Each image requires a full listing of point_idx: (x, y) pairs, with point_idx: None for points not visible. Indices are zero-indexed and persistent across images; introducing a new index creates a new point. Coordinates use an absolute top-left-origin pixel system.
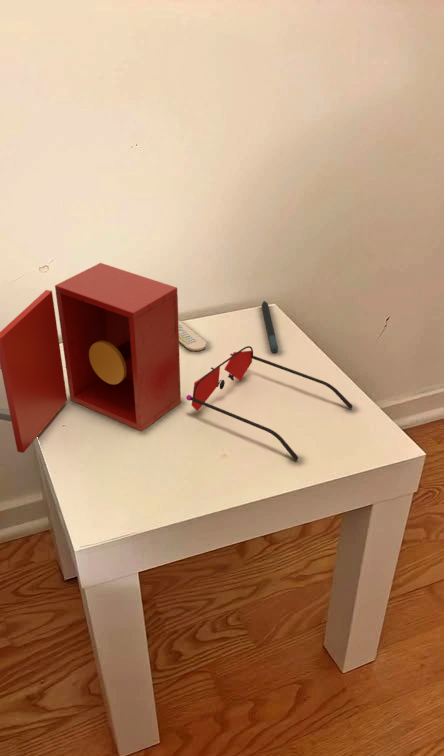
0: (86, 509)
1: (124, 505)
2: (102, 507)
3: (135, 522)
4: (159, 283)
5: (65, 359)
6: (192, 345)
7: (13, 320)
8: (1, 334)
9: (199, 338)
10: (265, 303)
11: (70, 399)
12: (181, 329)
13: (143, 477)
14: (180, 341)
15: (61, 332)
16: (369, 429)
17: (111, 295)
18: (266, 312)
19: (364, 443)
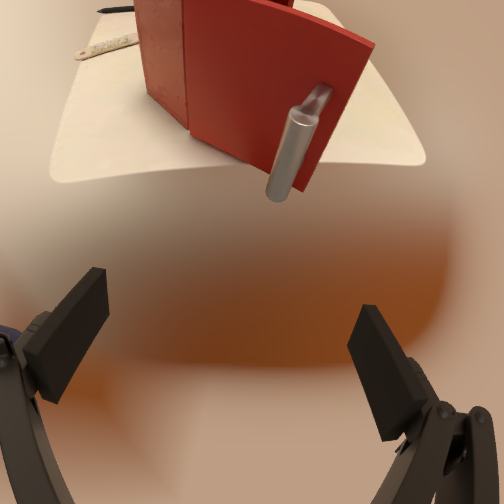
0: (393, 151)
1: (386, 125)
2: (389, 139)
3: (404, 125)
4: None
5: (186, 82)
6: (135, 39)
7: (305, 17)
8: (363, 39)
9: (126, 36)
10: (104, 8)
11: (187, 129)
12: (102, 45)
13: (348, 102)
14: (122, 45)
15: (184, 47)
16: (295, 4)
17: None
18: (118, 7)
19: (311, 10)
